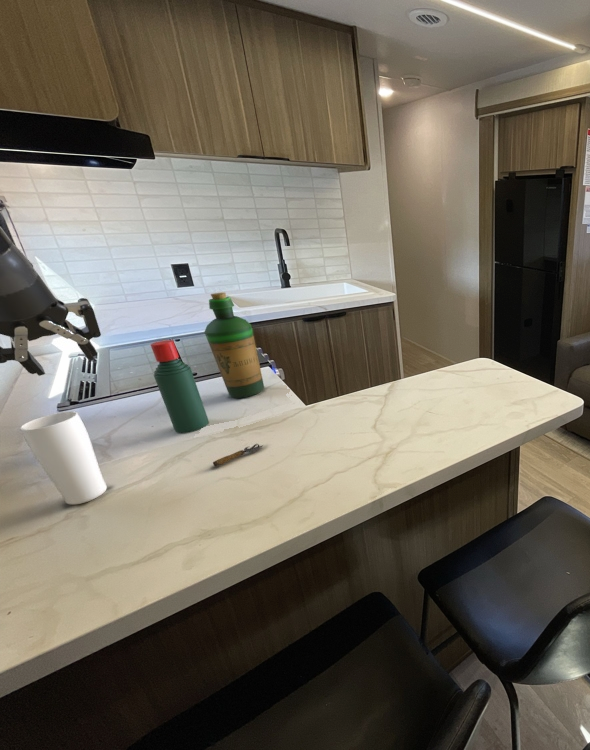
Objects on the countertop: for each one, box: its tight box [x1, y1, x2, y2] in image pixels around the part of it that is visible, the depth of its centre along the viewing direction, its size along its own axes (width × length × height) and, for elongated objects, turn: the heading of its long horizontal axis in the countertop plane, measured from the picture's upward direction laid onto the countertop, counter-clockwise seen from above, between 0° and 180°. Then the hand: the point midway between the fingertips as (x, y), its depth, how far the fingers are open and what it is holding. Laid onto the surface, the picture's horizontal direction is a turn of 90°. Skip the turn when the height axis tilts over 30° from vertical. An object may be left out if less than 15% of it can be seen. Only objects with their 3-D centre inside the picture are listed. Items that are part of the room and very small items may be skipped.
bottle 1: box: [153, 358, 210, 434], centre depth 91 cm, size 7×7×20 cm
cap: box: [150, 339, 180, 363], centre depth 88 cm, size 4×4×4 cm
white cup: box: [19, 411, 108, 506], centre depth 68 cm, size 7×7×15 cm
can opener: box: [212, 443, 264, 468], centre depth 80 cm, size 9×2×1 cm, turn 140°
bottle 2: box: [204, 292, 265, 399], centre depth 109 cm, size 11×11×28 cm
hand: (66, 363), depth 65 cm, fingers open, 5 cm apart
